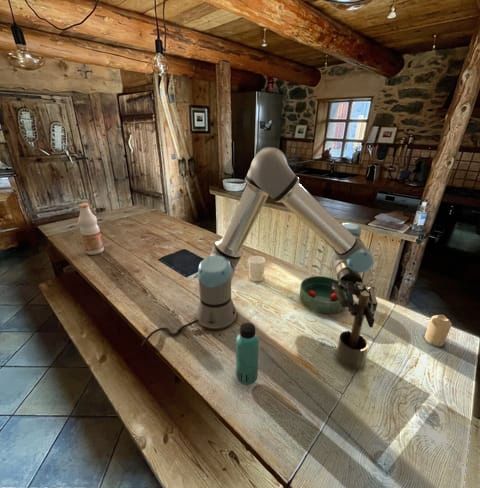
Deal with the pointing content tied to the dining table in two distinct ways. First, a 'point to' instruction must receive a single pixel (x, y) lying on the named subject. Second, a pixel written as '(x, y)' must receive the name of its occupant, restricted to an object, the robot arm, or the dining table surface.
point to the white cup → (256, 268)
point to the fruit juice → (90, 230)
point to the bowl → (320, 294)
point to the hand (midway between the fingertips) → (366, 322)
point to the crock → (351, 351)
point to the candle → (438, 330)
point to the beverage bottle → (247, 354)
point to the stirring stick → (355, 328)
